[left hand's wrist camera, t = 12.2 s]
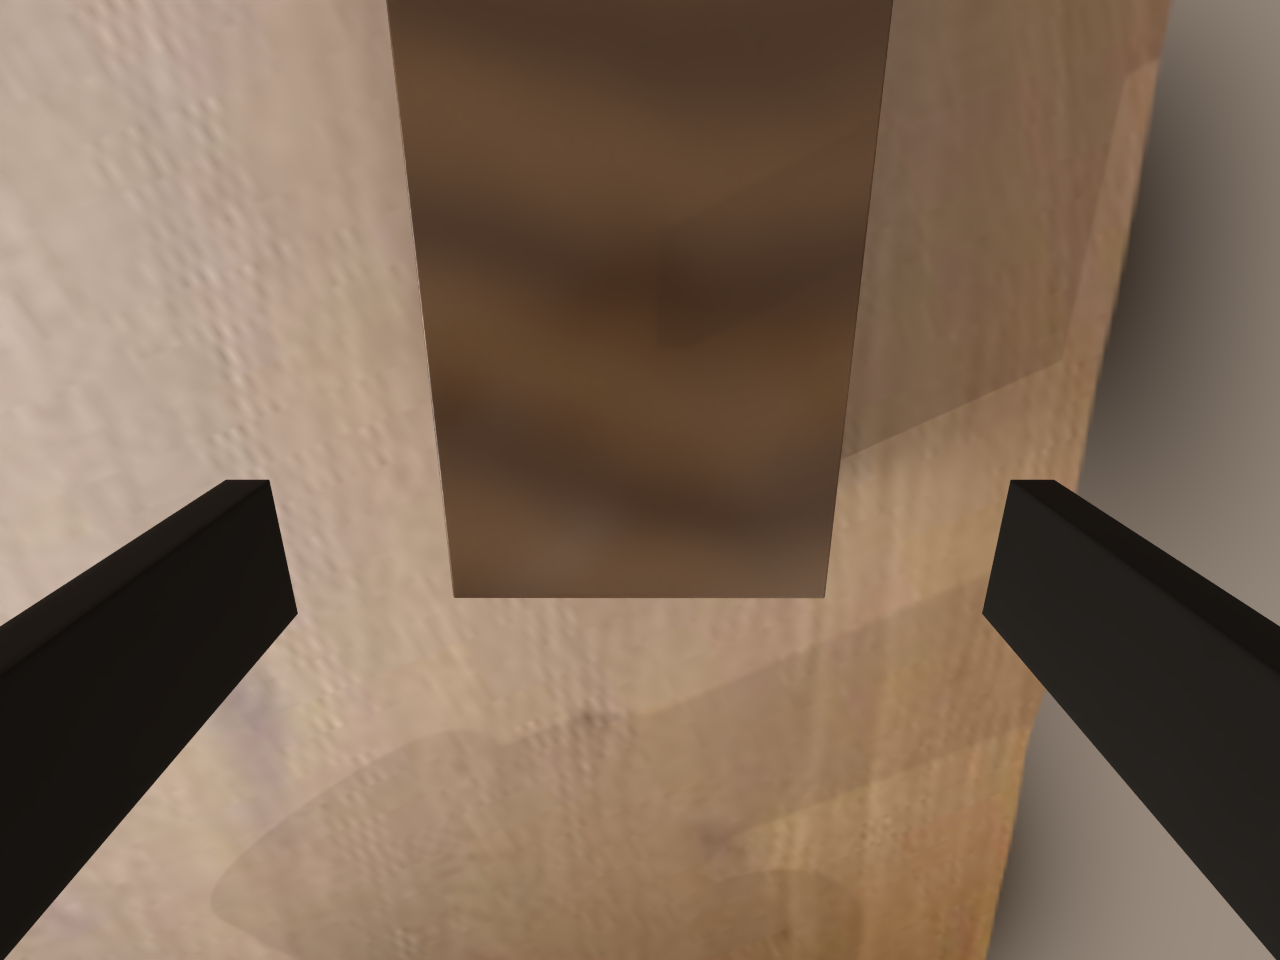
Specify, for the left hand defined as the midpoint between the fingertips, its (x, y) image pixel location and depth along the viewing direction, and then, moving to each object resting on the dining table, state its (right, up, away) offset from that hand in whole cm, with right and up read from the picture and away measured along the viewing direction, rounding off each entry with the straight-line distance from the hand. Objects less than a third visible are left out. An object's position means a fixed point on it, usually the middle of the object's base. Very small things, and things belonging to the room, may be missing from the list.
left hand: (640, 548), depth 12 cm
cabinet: (0, +9, +11) cm, 15 cm away
